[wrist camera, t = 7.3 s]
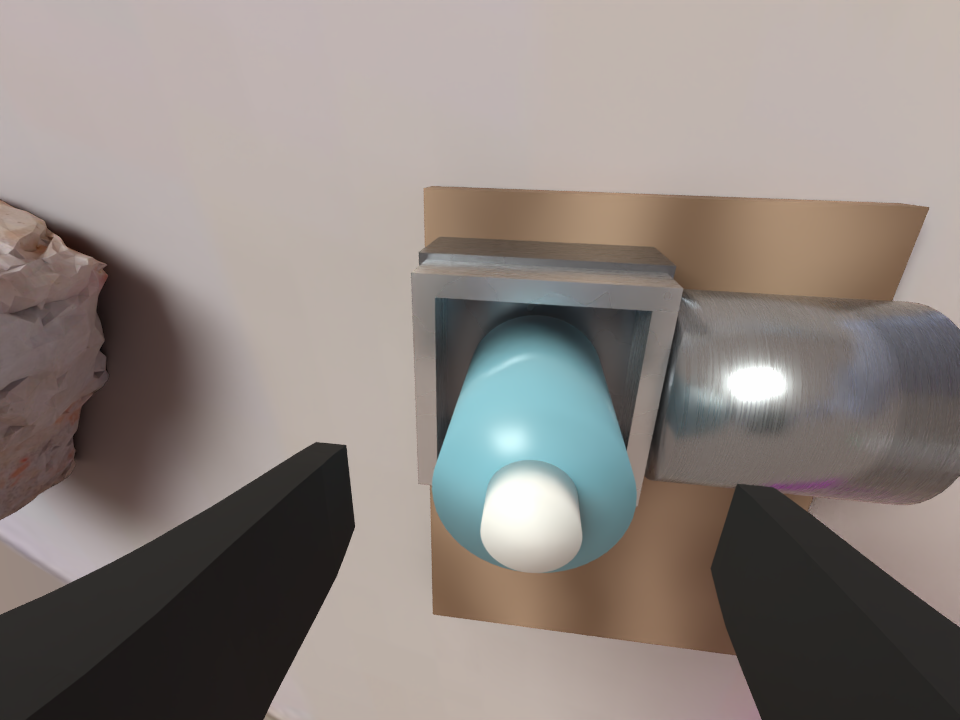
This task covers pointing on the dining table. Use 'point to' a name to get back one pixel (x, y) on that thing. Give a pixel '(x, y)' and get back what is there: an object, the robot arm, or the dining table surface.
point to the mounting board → (662, 505)
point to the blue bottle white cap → (535, 452)
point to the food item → (43, 354)
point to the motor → (709, 369)
